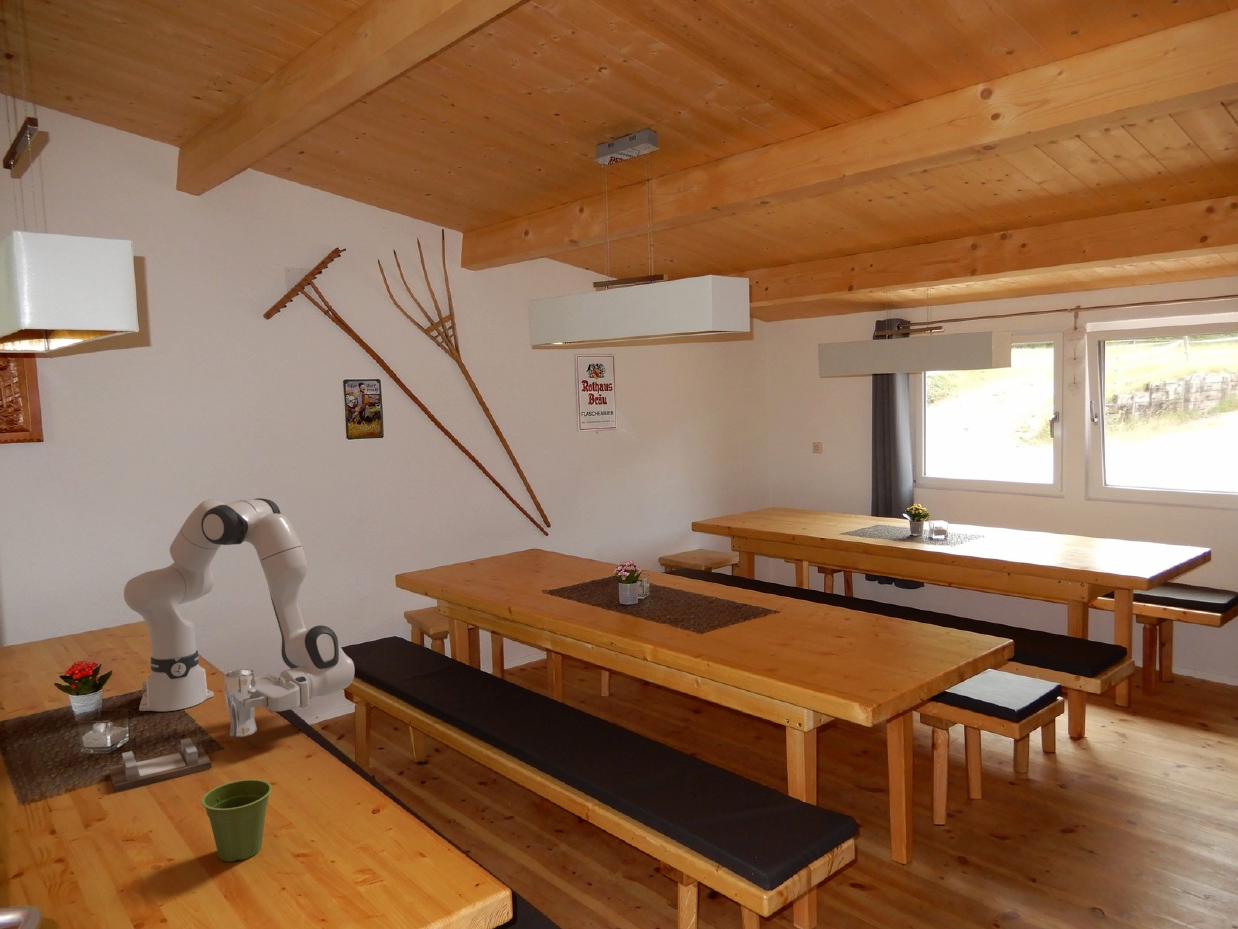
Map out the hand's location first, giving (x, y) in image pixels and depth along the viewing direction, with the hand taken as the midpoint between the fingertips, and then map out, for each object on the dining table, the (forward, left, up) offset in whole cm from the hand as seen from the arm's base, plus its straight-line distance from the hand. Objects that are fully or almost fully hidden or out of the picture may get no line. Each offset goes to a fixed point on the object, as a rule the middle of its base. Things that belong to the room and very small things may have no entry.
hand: (237, 700), depth 201 cm
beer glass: (0, +1, -9) cm, 9 cm away
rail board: (+3, -17, -12) cm, 21 cm away
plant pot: (+53, -11, -12) cm, 56 cm away
